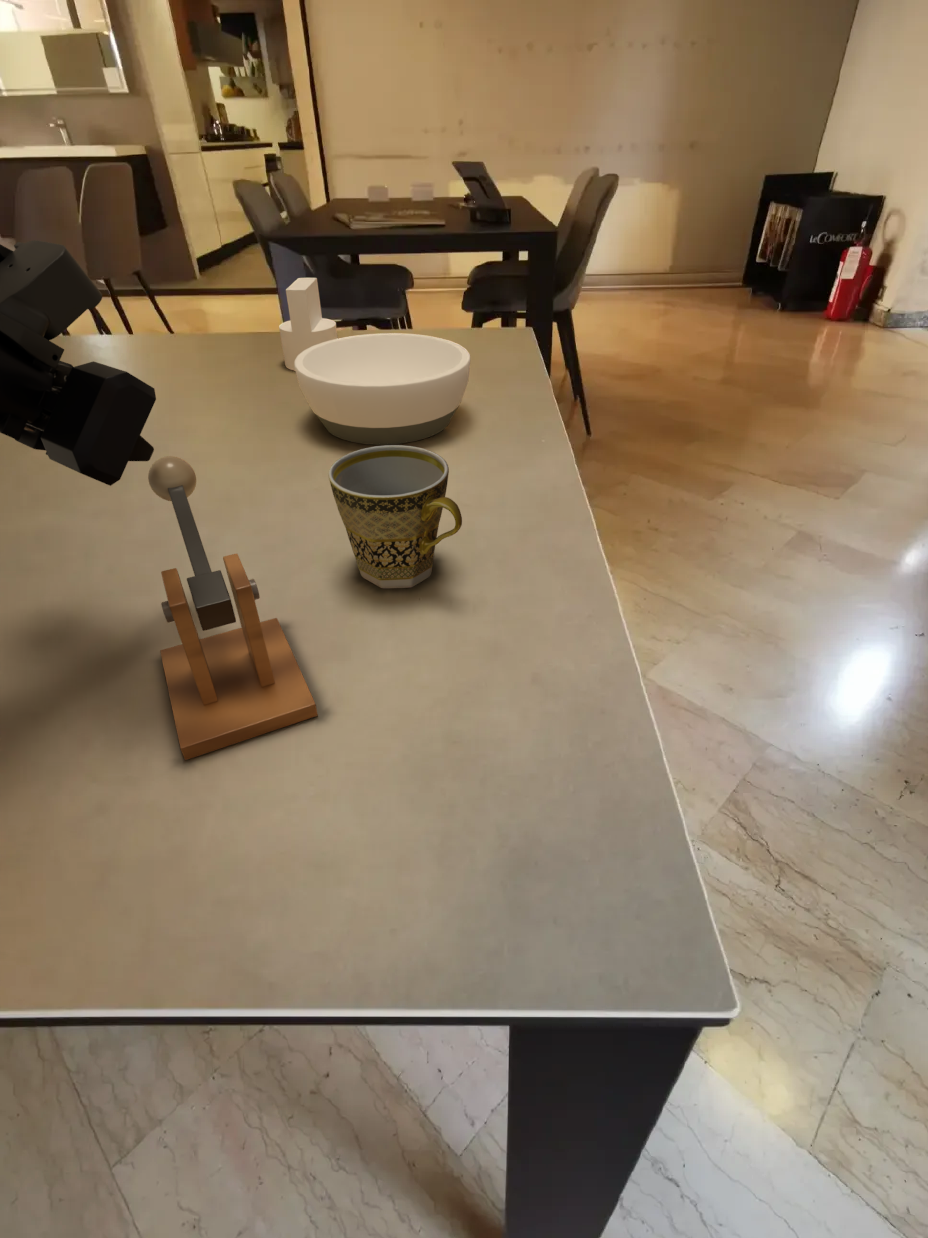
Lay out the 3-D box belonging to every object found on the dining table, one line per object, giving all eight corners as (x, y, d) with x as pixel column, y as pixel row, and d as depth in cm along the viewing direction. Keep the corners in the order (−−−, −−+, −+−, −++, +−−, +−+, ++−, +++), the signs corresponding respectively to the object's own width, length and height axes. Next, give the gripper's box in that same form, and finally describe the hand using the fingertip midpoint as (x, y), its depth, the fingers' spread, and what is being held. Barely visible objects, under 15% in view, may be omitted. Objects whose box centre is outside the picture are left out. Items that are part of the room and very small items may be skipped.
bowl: (497, 406, 94) (499, 344, 89) (417, 467, 79) (413, 397, 73) (365, 382, 103) (359, 325, 97) (268, 434, 87) (255, 369, 82)
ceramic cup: (320, 571, 61) (303, 471, 55) (398, 530, 67) (391, 435, 61) (420, 630, 55) (414, 522, 48) (497, 578, 60) (501, 476, 54)
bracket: (164, 661, 52) (123, 554, 46) (279, 628, 55) (255, 524, 49) (185, 760, 44) (139, 647, 38) (318, 715, 47) (295, 604, 41)
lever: (150, 486, 53) (139, 451, 50) (195, 478, 54) (186, 443, 51) (195, 638, 44) (184, 606, 42) (246, 624, 46) (238, 592, 43)
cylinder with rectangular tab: (335, 371, 107) (325, 290, 99) (279, 371, 107) (265, 290, 100) (344, 355, 114) (335, 277, 107) (292, 355, 114) (279, 277, 107)
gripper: (57, 203, 31) (280, 377, 45) (-110, 182, 40) (121, 334, 53) (-42, 422, 31) (213, 529, 45) (-188, 353, 39) (64, 461, 53)
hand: (149, 453), depth 49 cm, fingers closed
